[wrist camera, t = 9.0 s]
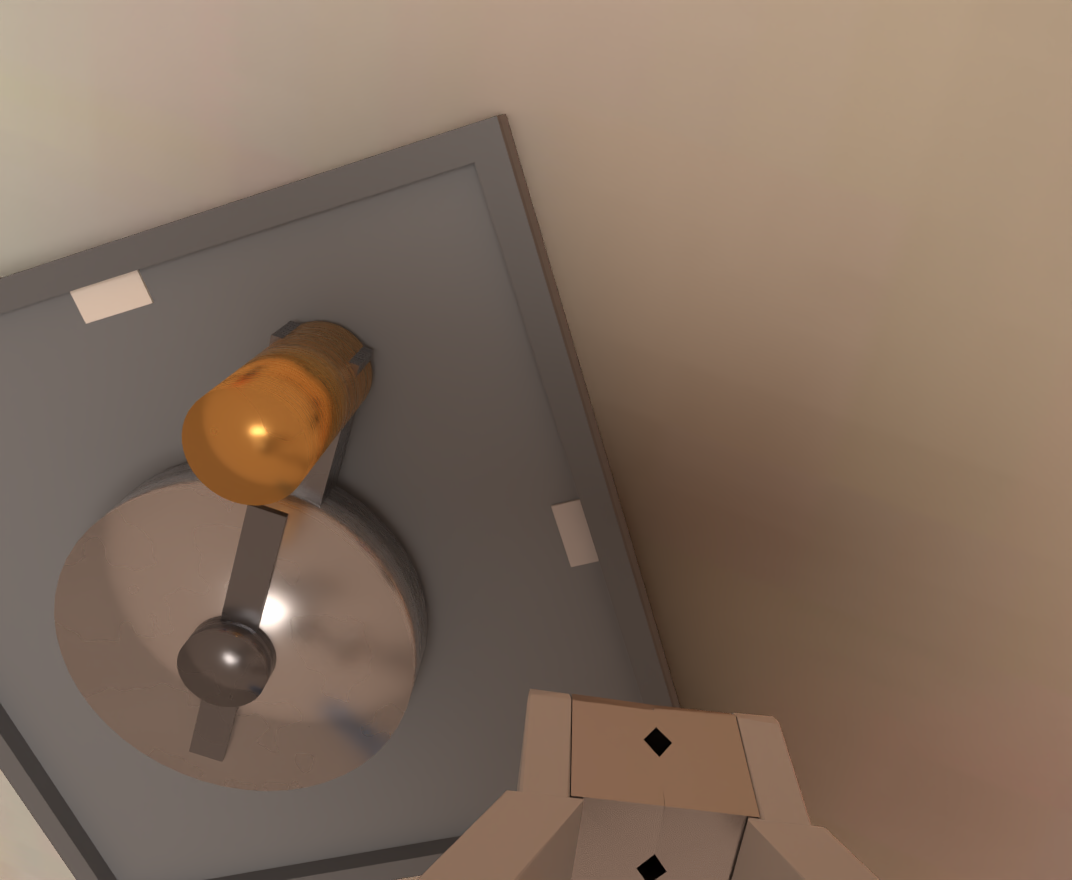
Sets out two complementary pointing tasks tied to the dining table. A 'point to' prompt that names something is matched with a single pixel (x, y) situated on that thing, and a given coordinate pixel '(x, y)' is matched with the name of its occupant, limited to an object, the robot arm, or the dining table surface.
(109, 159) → the dining table surface
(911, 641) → the dining table surface
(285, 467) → the dial
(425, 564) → the dial plate
